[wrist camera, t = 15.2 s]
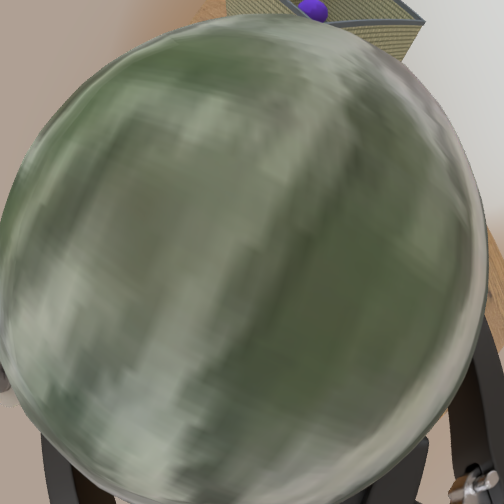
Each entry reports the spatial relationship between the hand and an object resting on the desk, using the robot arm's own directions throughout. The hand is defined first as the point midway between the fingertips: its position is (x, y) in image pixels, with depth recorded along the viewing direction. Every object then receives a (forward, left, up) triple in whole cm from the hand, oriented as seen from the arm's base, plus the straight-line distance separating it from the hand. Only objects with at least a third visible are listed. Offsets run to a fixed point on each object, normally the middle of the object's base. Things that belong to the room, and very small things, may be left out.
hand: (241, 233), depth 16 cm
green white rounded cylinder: (+3, -1, -14) cm, 14 cm away
